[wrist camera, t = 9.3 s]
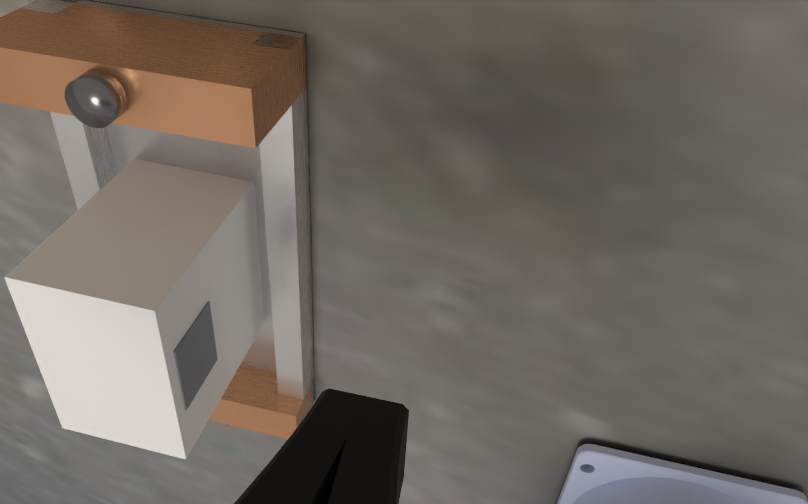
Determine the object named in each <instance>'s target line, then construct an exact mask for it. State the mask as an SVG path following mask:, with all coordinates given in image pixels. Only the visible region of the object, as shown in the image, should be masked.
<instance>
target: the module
mask: <svg viewBox="0 0 808 504" xmlns="http://www.w3.org/2000/svg"><path fill="white" fill-rule="evenodd" d="M4 278H5V280H6V283H7V285H8V288H9V291H10V293H11V296H12V298H13V301H14V304H15V306H16V309H17V311H18V314H19V316H20V319H21V322H22V324H23V327H24V329H25V332H26V335H27V337H28V340H29V342H30V345H31V347H32V350H33V353H34V355H35V358H36V360H37V363H38V366H39V368H40V371H41V373H42V376H43V378H44V381H45V384H46V386H47V389H48V391H49V394H50V397H51V399H52V402H53V404H54V407H55V409H56V412H57V415H58V417H59V420H60V422H61V425H62V428H65V429H68V430H72V431H76V432H80V433H84V434H88V435H92V436H96V437H100V438H104V439H108V440H112V441H116V442H120V443H124V444H127V445H131V446H135V447H139V448H143V449H147V450H151V451H155V452H159V453H163V454H167V455H171V456H175V457H179V458H182V459H187V457H188V455H189V454H190V452H191V450H192V448H193V447H194V445H195V443H196V441H197V440H198V438H199V436H200V434H201V433H202V431H203V429H204V427H205V426H206V424H207V422H208V420H209V419H210V417H211V415H212V413H213V412H214V410H215V408H216V406H217V404H218V403H219V401H220V399H221V397H222V396H223V394H224V392H225V390H226V389H227V387H228V385H229V383H230V382H231V380H232V378H233V376H234V375H235V373H236V371H237V369H238V368H239V366H240V364H241V362H242V361H243V359H244V357H245V355H246V354H247V352H248V350H249V348H250V347H251V345H252V343H253V341H254V340H255V338H256V336H257V334H258V333H259V331H260V329H261V327H262V325H263V324H264V322H265V321H264V307H263V294H262V280H261V266H260V253H259V239H258V225H257V211H256V198H255V184H254V182H251V181H246V180H241V179H236V178H231V177H226V176H221V175H216V174H210V173H205V172H200V171H195V170H190V169H185V168H180V167H174V166H169V165H164V164H159V163H154V162H149V161H144V160H139V159H134V160H133V161H132V162H130V163H129V164H128V165H127V166H126V167H125V168H124V169H123V170H122V171H121V172H119V173H118V174H117V175H116V176H115V177H114V178H113V179H112V180H111V181H110V182H108V183H107V184H106V185H105V186H104V187H103V188H102V189H101V190H100V191H99V192H97V193H96V194H95V195H94V196H93V197H92V198H91V199H90V200H89V201H87V202H86V203H85V204H84V205H83V206H82V207H81V208H80V209H79V210H78V211H76V212H75V213H74V214H73V215H72V216H71V217H70V218H69V219H68V220H67V221H65V222H64V223H63V224H62V225H61V226H60V227H59V228H58V229H57V230H56V231H54V232H53V233H52V234H51V235H50V236H49V237H48V238H47V239H46V240H45V241H43V242H42V243H41V244H40V245H39V246H38V247H37V248H36V249H35V250H34V251H32V252H31V253H30V254H29V255H28V256H27V257H26V258H25V259H24V260H22V261H21V262H20V263H19V264H18V265H17V266H16V267H15V268H14V269H13V270H11V271H10V272H9V273H8V274H7V275H6V276H5V277H4Z"/></svg>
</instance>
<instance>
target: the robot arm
mask: <svg viewBox="0 0 808 504" xmlns="http://www.w3.org/2000/svg"><path fill="white" fill-rule="evenodd" d="M408 415H409V410H408V409H407V408H406V407H405V406H404V405H403V404H399V403H395V402H390V401H385V400H380V399H376V398H371V397H366V396H362V395H357V394H352V393H347V392H343V391H338V390H333V389H327V390H325V391H323V392H322V393H321V395H320V396H319V398H318V399H317V401H316V402H315V403H314V405H313V406H312V408H311V409H310V411H309V412H308V413H307V415H306V416H305V418H304V419H303V420H302V422H301V423H300V424H299V426H298V427H297V428H296V430H295V431H294V432H293V434H292V435H291V436H290V437H289V439H288V440H287V441H286V443H285V444H284V445H283V446H282V448H281V449H280V450H279V451H278V453H277V454H276V455H275V456H274V458H273V459H272V460H271V461H270V462H269V464H268V465H267V466H266V467H265V468H264V469H263V471H262V472H261V473H260V474H259V475H258V476H257V478H256V479H255V480H254V481H253V482H252V484H251V485H250V486H249V487H248V488H247V489H246V491H245V492H244V493H243V494H242V495H241V496H240V498H239V499H238V500H237V501H236V502H235V503H234V504H398V503H399V498H400V493H401V488H402V483H403V478H404V466H405V453H406V441H407V428H408ZM557 504H808V502H807V499H806V496H805V494H803V493H802V492H800V491H798V490H795V489H790V488H786V487H781V486H777V485H772V484H768V483H763V482H759V481H755V480H750V479H746V478H741V477H737V476H732V475H728V474H724V473H719V472H715V471H710V470H706V469H701V468H697V467H692V466H688V465H684V464H679V463H675V462H670V461H666V460H661V459H657V458H652V457H648V456H644V455H639V454H635V453H630V452H626V451H621V450H617V449H612V448H608V447H604V446H599V445H595V444H584V445H582V446H580V447H579V448H578V449H577V451H576V453H575V456H574V459H573V461H572V464H571V467H570V469H569V472H568V475H567V477H566V480H565V483H564V485H563V488H562V491H561V493H560V496H559V499H558V501H557Z"/></svg>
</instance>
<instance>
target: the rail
mask: <svg viewBox="0 0 808 504" xmlns="http://www.w3.org/2000/svg"><path fill="white" fill-rule="evenodd" d="M0 103H4V104H10V105H16V106H21V107H27V108H32V109H38V110H44V111H49V112H50V114H51V117H52V121H53V124H54V128H55V131H56V135H57V138H58V142H59V145H60V149H61V152H62V156H63V159H64V163H65V166H66V170H67V173H68V177H69V180H70V184H71V187H72V191H73V194H74V198H75V201H76V205H77V208H78V210H79V209H80V208H81V207H82V206H83V205H84V204H85V203H86V202H87V201H89V200H90V199H91V198H92V197H93V196H94V195H95V194H96V193H97V192H99V191H100V190H101V189H102V188H103V187H104V186H105V185H106V184H107V183H108V182H110V181H111V180H112V179H113V178H114V177H115V176H116V175H117V174H118V173H119V172H121V171H122V170H123V169H124V168H125V167H126V166H127V165H128V164H129V163H130V162H132V161H133V160H134V159H139V160H144V161H149V162H154V163H159V164H164V165H169V166H174V167H180V168H185V169H190V170H195V171H200V172H205V173H210V174H216V175H221V176H226V177H231V178H236V179H241V180H246V181H251V182H254V184H255V198H256V211H257V225H258V239H259V253H260V266H261V280H262V294H263V307H264V321H265V322H264V324H263V325H262V327H261V329H260V331H259V333H258V334H257V336H256V338H255V340H254V341H253V343H252V345H251V347H250V348H249V350H248V352H247V354H246V355H245V357H244V359H243V361H242V362H241V364H240V366H239V368H238V369H237V371H236V373H235V375H234V376H233V378H232V380H231V382H230V383H229V385H228V387H227V389H226V390H225V392H224V394H223V396H222V397H221V399H220V401H219V403H218V404H217V406H216V408H215V410H214V412H213V413H212V415H211V417H210V419H209V421H213V422H218V423H222V424H226V425H230V426H234V427H239V428H243V429H247V430H251V431H255V432H260V433H264V434H268V435H272V436H276V437H280V438H285V439H289V437H290V436H291V435H292V434H293V432H294V431H295V430H296V428H297V427H298V426H299V424H300V423H301V422H302V420H303V419H304V418H305V416H306V415H307V413H308V412H309V411H310V409H311V408H312V406H313V404H314V401H315V397H314V357H313V316H312V275H311V234H310V194H309V153H308V112H307V71H306V34H304V33H297V32H291V31H284V30H277V29H271V28H264V27H258V26H251V25H245V24H238V23H231V22H225V21H218V20H212V19H205V18H199V17H192V16H186V15H179V14H172V13H166V12H159V11H153V10H146V9H140V8H133V7H126V6H120V5H113V4H107V3H100V2H94V1H87V0H37V1H34V2H32V3H30V4H28V5H26V6H24V7H22V8H19V9H17V10H15V11H13V12H11V13H9V14H7V15H4V16H2V17H0Z"/></svg>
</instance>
